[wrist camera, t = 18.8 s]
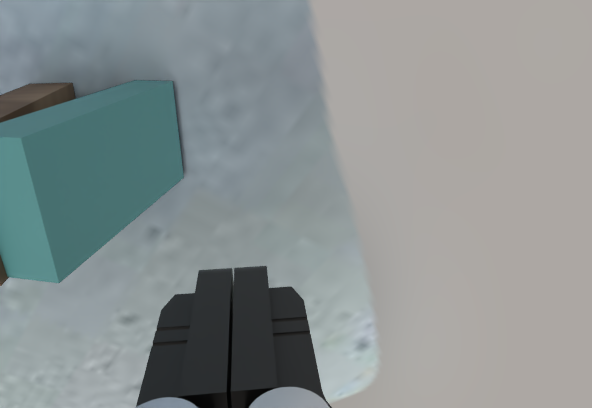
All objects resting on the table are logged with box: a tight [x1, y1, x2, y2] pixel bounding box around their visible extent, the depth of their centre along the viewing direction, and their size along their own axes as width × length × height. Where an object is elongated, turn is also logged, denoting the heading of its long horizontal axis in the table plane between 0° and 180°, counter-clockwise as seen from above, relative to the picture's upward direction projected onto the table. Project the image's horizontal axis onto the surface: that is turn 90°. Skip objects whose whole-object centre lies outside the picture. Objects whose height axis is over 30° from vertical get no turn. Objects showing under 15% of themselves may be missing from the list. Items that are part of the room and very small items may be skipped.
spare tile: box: [0, 80, 184, 283], centre depth 19 cm, size 2×5×10 cm, turn 0°
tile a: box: [0, 83, 76, 286], centre depth 19 cm, size 2×5×10 cm, turn 0°
